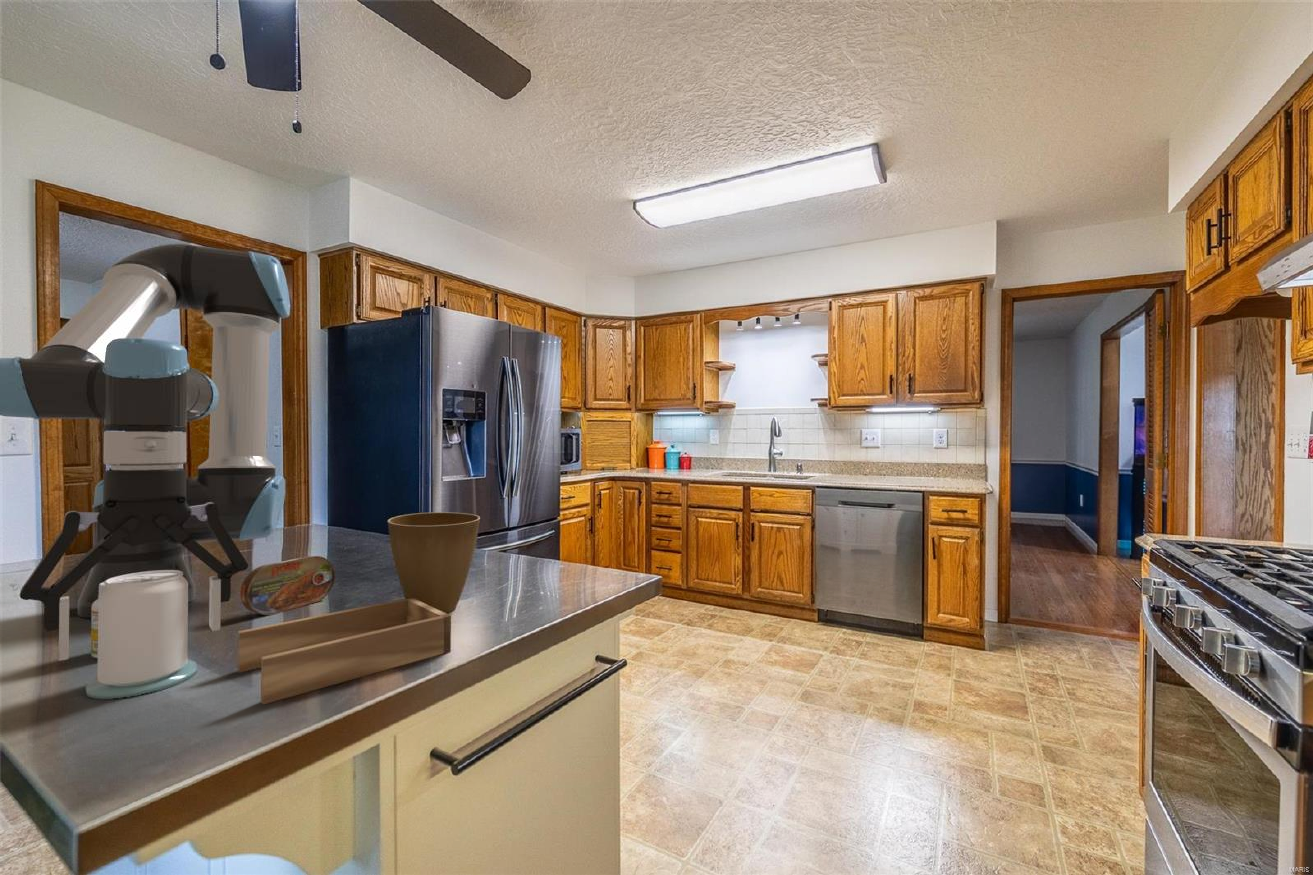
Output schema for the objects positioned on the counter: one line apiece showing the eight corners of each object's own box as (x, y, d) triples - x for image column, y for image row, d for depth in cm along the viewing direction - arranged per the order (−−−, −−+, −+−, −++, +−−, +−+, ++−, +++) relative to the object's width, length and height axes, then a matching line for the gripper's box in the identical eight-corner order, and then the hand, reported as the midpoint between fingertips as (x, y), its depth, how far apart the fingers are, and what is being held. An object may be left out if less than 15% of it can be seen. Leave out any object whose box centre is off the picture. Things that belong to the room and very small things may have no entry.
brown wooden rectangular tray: (237, 670, 72) (238, 631, 72) (410, 629, 88) (411, 597, 88) (263, 704, 63) (263, 659, 63) (450, 651, 79) (451, 615, 79)
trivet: (84, 680, 69) (84, 675, 69) (190, 657, 76) (190, 653, 76) (87, 708, 62) (87, 702, 62) (203, 680, 69) (203, 675, 69)
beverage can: (133, 693, 64) (134, 587, 64) (78, 686, 66) (79, 583, 66) (204, 665, 72) (205, 571, 72) (153, 659, 74) (154, 567, 74)
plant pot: (366, 616, 94) (367, 520, 94) (433, 594, 107) (434, 510, 107) (435, 629, 88) (436, 526, 88) (496, 603, 102) (497, 515, 102)
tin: (248, 621, 91) (248, 569, 91) (236, 618, 92) (237, 567, 92) (336, 598, 105) (336, 552, 105) (325, 595, 106) (325, 551, 106)
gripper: (-15, 472, 57) (-18, 682, 57) (275, 465, 75) (273, 624, 75) (-9, 469, 62) (-11, 661, 62) (261, 463, 80) (259, 612, 80)
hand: (144, 641), depth 69 cm, fingers open, 13 cm apart
